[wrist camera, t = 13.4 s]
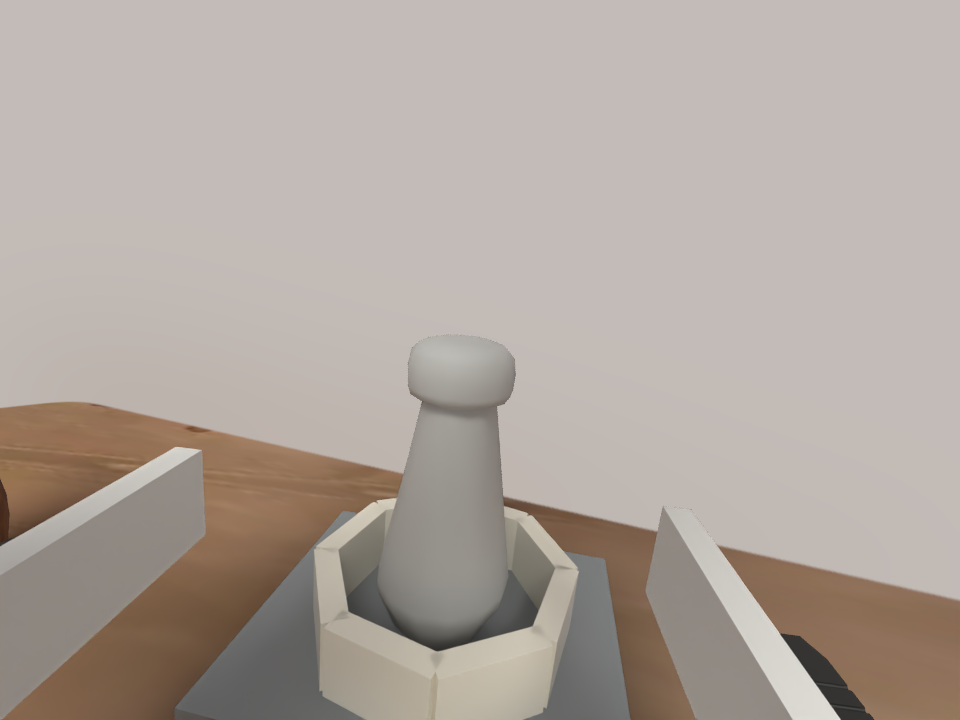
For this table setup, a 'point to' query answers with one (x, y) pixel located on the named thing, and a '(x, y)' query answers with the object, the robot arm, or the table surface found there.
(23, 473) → the table surface
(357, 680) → the ring holder
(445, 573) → the salt shaker
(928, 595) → the table surface
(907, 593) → the table surface
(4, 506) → the wooden figurine
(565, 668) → the slate board
